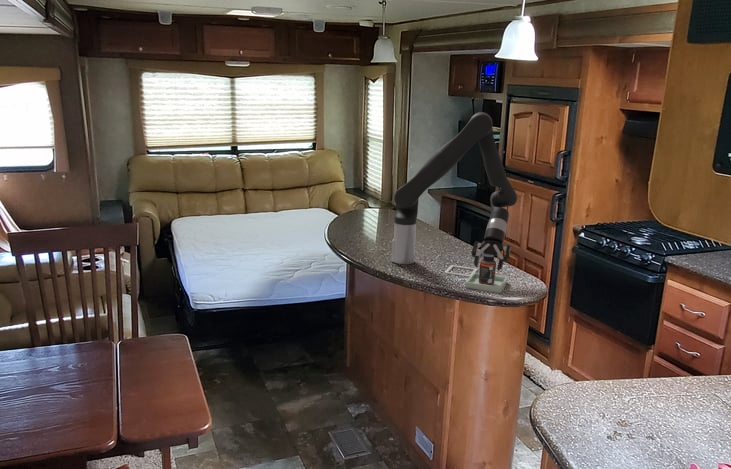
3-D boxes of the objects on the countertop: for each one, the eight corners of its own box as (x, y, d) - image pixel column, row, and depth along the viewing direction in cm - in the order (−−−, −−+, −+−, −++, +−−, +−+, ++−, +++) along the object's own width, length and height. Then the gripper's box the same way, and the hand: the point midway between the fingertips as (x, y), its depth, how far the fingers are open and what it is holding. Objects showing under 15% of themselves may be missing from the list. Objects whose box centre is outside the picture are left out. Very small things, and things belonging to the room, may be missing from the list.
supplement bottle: (494, 286, 217) (497, 258, 215) (478, 285, 218) (480, 256, 216) (493, 281, 223) (496, 253, 220) (478, 280, 224) (480, 252, 221)
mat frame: (443, 273, 233) (444, 272, 233) (451, 266, 243) (451, 264, 243) (471, 277, 229) (471, 276, 229) (477, 269, 239) (477, 268, 239)
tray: (464, 287, 217) (465, 282, 217) (473, 277, 229) (473, 272, 229) (500, 293, 212) (501, 287, 211) (507, 282, 224) (507, 277, 224)
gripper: (476, 224, 225) (467, 260, 217) (513, 229, 219) (505, 265, 212) (478, 235, 231) (469, 269, 223) (514, 239, 225) (506, 275, 218)
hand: (487, 267), depth 218 cm, fingers open, 8 cm apart
